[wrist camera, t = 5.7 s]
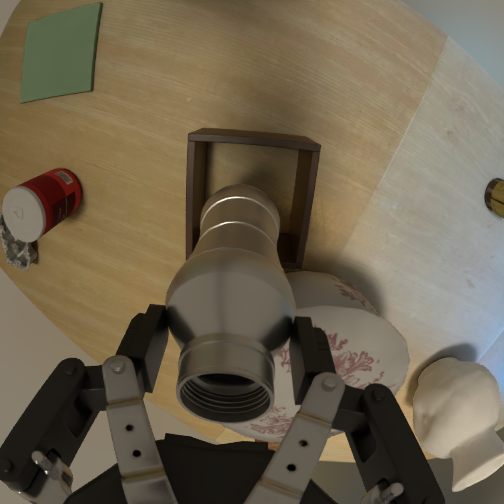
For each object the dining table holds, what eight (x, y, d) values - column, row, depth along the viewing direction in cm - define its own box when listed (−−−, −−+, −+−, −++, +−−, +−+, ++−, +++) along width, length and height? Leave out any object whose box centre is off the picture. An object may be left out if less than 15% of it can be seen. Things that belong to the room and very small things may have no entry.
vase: (479, 328, 54) (544, 426, 27) (456, 387, 63) (497, 475, 36) (411, 348, 55) (466, 471, 28) (396, 406, 64) (428, 507, 38)
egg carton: (7, 203, 42) (-7, 211, 38) (36, 210, 42) (22, 218, 39) (12, 255, 46) (0, 265, 43) (39, 264, 47) (27, 275, 43)
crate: (202, 127, 38) (188, 133, 30) (306, 136, 38) (321, 144, 30) (198, 231, 44) (185, 260, 36) (293, 238, 45) (301, 269, 37)
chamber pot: (245, 210, 43) (239, 297, 24) (402, 272, 47) (462, 358, 28) (191, 349, 54) (171, 446, 36) (323, 382, 59) (340, 470, 40)
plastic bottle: (260, 254, 30) (270, 449, 12) (194, 229, 29) (127, 413, 11) (289, 195, 28) (351, 368, 10) (219, 166, 26) (153, 309, 9)
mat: (30, 23, 28) (28, 23, 27) (102, 3, 28) (100, 1, 28) (23, 102, 34) (20, 103, 34) (93, 91, 35) (90, 91, 34)
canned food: (41, 169, 39) (-3, 190, 30) (80, 164, 39) (37, 184, 30) (48, 214, 43) (9, 243, 33) (86, 213, 43) (48, 243, 33)
